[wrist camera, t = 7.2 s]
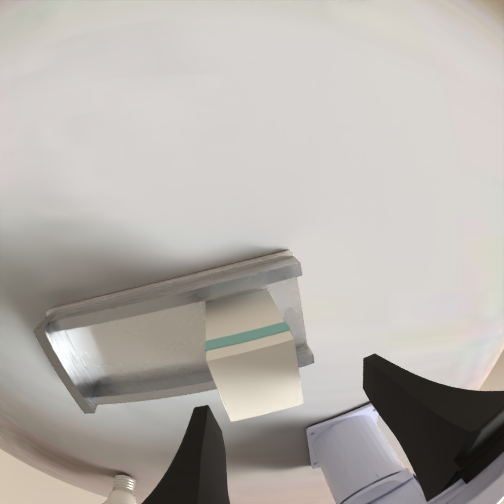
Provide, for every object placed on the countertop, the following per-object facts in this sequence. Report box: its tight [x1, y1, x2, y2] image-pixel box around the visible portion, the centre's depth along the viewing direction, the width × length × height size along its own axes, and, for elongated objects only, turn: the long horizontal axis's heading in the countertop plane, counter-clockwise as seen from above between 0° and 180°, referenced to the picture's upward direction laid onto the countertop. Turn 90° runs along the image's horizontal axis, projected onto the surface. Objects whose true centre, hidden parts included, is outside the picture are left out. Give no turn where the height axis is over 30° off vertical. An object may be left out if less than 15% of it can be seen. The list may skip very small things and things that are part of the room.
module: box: [205, 289, 303, 422], centre depth 15 cm, size 5×4×6 cm
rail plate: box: [34, 250, 314, 413], centre depth 17 cm, size 8×18×3 cm, turn 102°
